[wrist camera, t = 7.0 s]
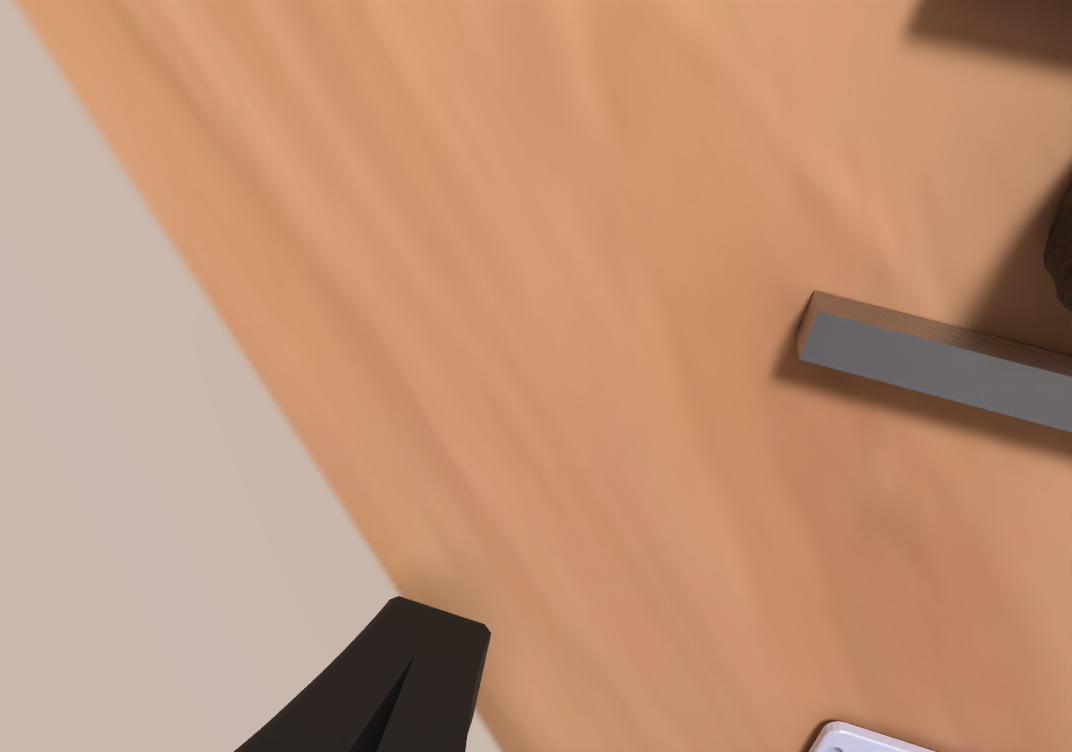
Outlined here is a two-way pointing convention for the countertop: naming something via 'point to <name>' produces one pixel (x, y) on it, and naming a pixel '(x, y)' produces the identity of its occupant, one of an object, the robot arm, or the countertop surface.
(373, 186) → the countertop surface
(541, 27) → the countertop surface
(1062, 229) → the dark brown log
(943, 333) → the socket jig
